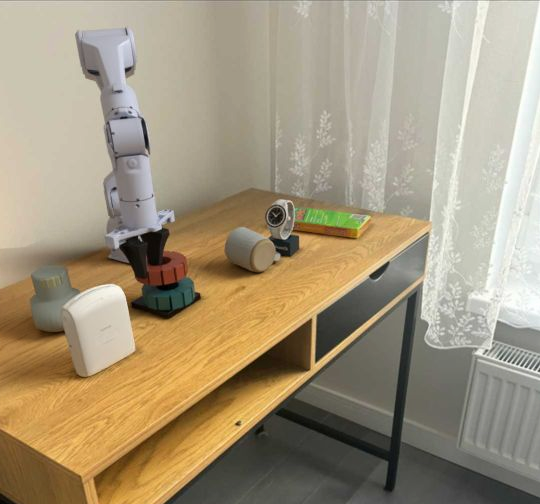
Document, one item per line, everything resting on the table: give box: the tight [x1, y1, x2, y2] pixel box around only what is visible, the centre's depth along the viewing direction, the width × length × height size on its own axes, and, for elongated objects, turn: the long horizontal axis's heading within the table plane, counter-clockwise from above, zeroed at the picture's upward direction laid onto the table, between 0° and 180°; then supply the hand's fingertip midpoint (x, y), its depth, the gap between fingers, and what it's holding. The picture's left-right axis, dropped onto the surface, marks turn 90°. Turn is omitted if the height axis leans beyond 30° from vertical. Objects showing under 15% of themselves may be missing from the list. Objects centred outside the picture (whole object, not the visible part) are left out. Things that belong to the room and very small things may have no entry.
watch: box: [264, 198, 300, 257], centre depth 128 cm, size 6×8×11 cm
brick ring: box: [133, 250, 189, 285], centre depth 108 cm, size 9×9×3 cm
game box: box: [292, 206, 372, 239], centre depth 142 cm, size 3×10×20 cm
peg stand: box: [130, 284, 202, 320], centre depth 110 cm, size 9×9×7 cm
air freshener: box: [29, 264, 81, 333], centre depth 104 cm, size 11×8×10 cm
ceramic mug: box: [224, 226, 281, 273], centre depth 123 cm, size 11×8×8 cm
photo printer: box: [60, 283, 136, 378], centre depth 92 cm, size 10×4×12 cm, turn 140°
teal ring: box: [141, 276, 196, 310], centre depth 110 cm, size 9×9×3 cm
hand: (148, 273), depth 106 cm, fingers closed on brick ring, 3 cm apart
